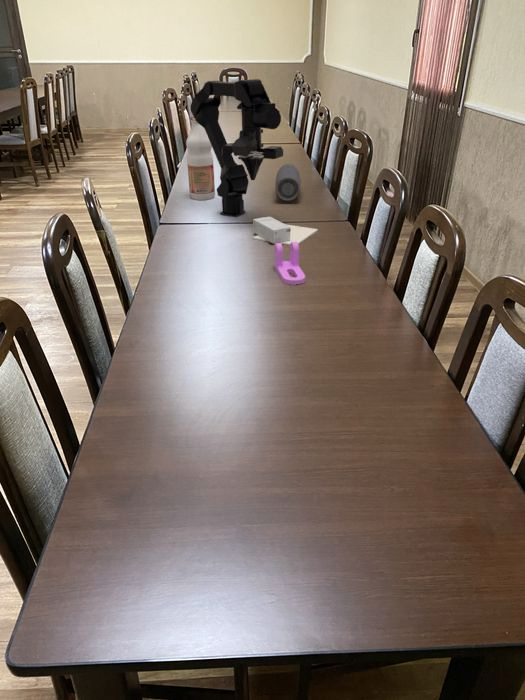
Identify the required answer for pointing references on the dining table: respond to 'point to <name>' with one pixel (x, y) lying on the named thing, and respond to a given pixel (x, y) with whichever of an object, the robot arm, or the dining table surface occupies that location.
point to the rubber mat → (294, 234)
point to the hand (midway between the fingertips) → (252, 180)
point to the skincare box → (271, 229)
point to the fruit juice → (200, 163)
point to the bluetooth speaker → (288, 182)
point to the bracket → (288, 264)
